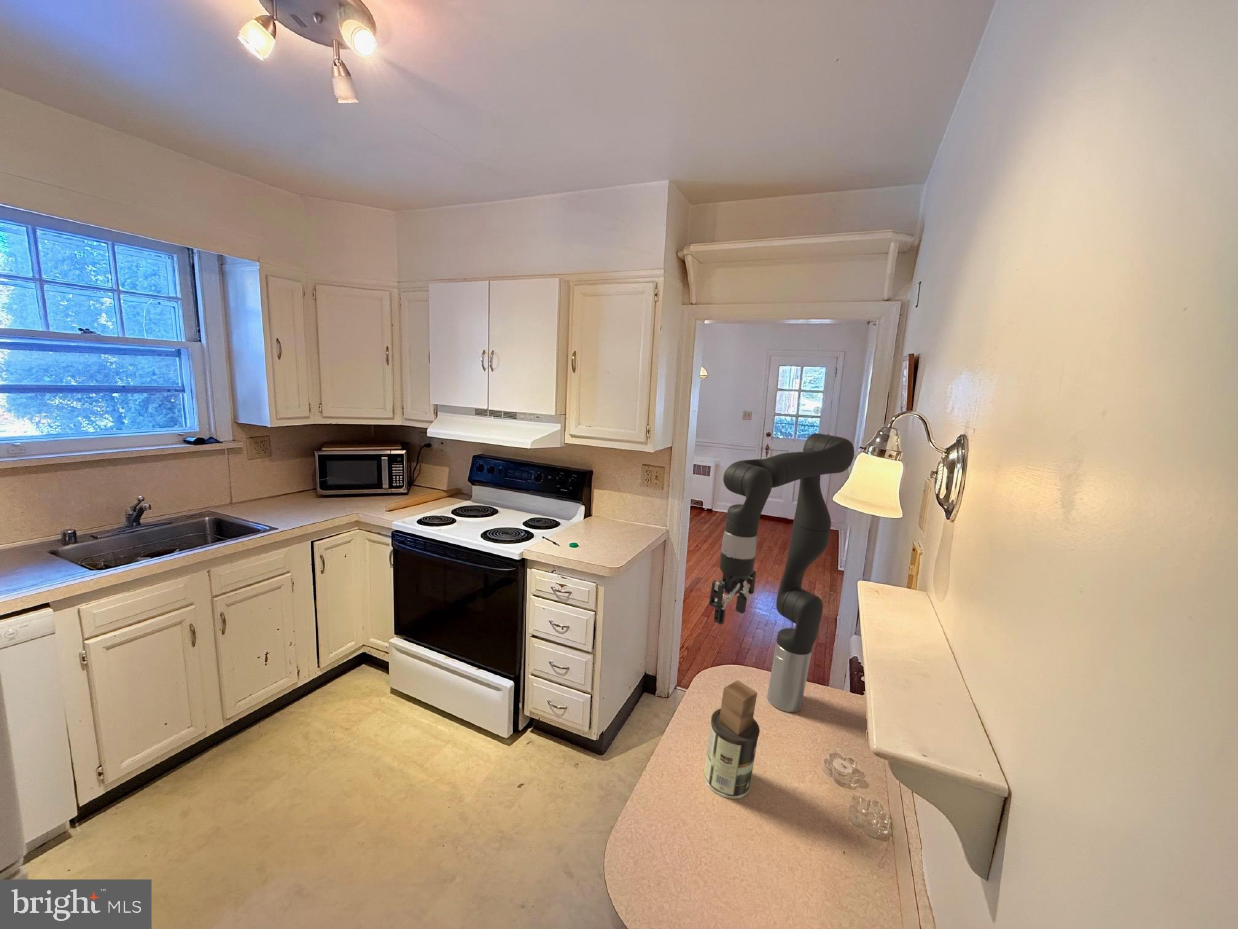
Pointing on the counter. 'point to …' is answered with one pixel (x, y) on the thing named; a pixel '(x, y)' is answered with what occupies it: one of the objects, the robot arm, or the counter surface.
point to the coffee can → (730, 758)
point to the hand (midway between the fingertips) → (729, 617)
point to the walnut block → (738, 707)
